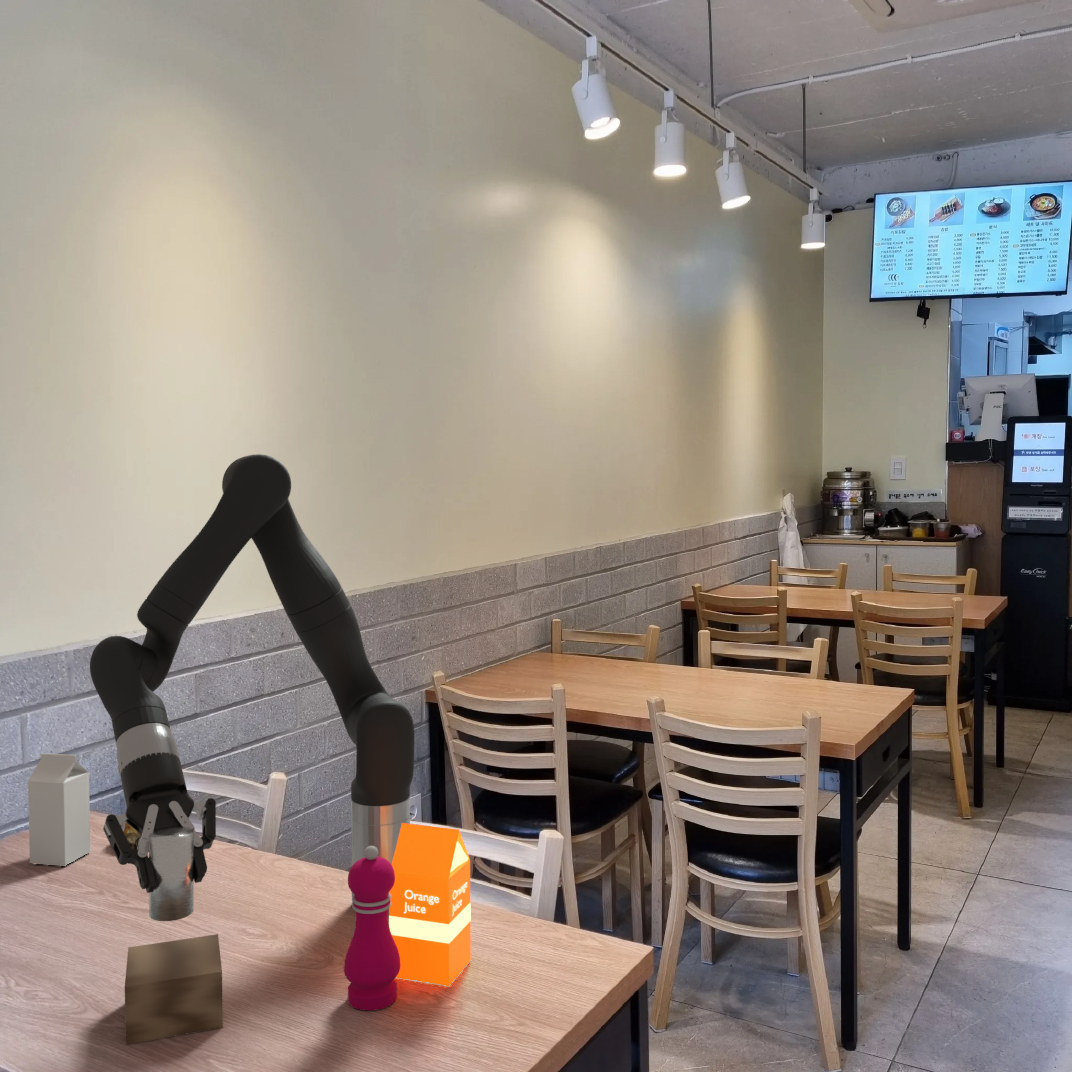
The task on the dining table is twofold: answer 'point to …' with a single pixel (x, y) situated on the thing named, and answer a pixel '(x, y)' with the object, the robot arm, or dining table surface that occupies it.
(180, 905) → the shiny metal cylinder
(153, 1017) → the walnut block
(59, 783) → the milk carton
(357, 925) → the pepper mill
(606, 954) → the dining table surface
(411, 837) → the orange juice
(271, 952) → the dining table surface
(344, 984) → the dining table surface
